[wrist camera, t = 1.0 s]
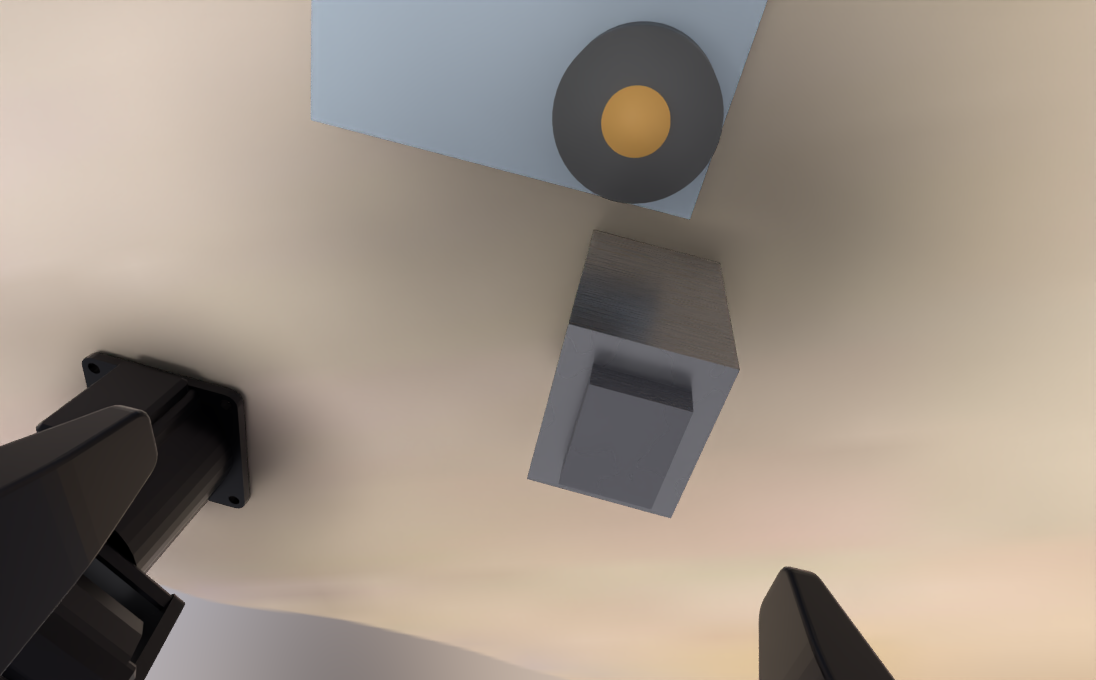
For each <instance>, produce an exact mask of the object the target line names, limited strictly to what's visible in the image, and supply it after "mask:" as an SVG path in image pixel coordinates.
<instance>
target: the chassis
mask: <svg viewBox="0 0 1096 680" xmlns="http://www.w3.org/2000/svg"><path fill="white" fill-rule="evenodd" d="M766 3H767V0H312V16H311V120H313V121H317V122H320V123H324V124H328V125H332V126H336V127H340V128H343V129H347V130H351V131H355V132H359V133H362V134H366V135H370V136H374V137H378V138H381V139H385V140H389V141H393V142H397V143H400V144H404V145H408V146H412V147H416V148H419V149H423V150H427V151H431V152H435V153H438V154H442V155H446V156H450V157H454V158H457V159H461V160H465V161H469V162H473V163H476V164H480V165H484V166H488V167H492V168H495V169H499V170H503V171H507V172H511V173H515V174H518V175H522V176H526V177H530V178H534V179H537V180H541V181H545V182H549V183H553V184H556V185H560V186H564V187H568V188H572V189H575V190H579V191H583V192H587V193H591V194H594V195H598V196H601V197H603V198H606V199H609V200H612V201H616V202H621V203H629V204H632V205H636V206H640V207H644V208H648V209H651V210H655V211H659V212H663V213H667V214H670V215H674V216H678V217H682V218H686V219H689V220H690V218H691V215H692V212H693V209H694V206H695V203H696V201H697V198H698V195H699V192H700V189H701V187H702V184H703V181H704V178H705V175H706V172H707V170H708V167H709V164H710V161H711V158H712V156H713V154H714V152H715V150H716V147H717V145H718V143H719V139H720V136H721V132H722V127H723V125H724V122H725V119H726V116H727V113H728V110H729V108H730V105H731V102H732V99H733V96H734V94H735V91H736V88H737V85H738V82H739V79H740V77H741V74H742V71H743V68H744V65H745V62H746V60H747V57H748V54H749V51H750V48H751V46H752V43H753V40H754V37H755V34H756V31H757V29H758V26H759V23H760V20H761V17H762V15H763V12H764V9H765V6H766Z"/></svg>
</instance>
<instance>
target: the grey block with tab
mask: <svg viewBox="0 0 1096 680" xmlns="http://www.w3.org/2000/svg"><path fill="white" fill-rule="evenodd" d="M739 370H740V369H739V364H738V358H737V353H736V347H735V342H734V336H733V331H732V326H731V320H730V315H729V309H728V304H727V298H726V293H725V287H724V282H723V276H722V271H721V265H720V263H718V262H714V261H710V260H707V259H703V258H699V257H695V256H692V255H688V254H684V253H680V252H676V251H673V250H669V249H665V248H661V247H657V246H654V245H650V244H646V243H642V242H639V241H635V240H631V239H627V238H623V237H620V236H616V235H612V234H608V233H605V232H601V231H597V230H594V231H593V234H592V238H591V242H590V246H589V249H588V253H587V257H586V261H585V264H584V268H583V272H582V275H581V279H580V283H579V287H578V290H577V294H576V298H575V301H574V305H573V309H572V313H571V316H570V320H569V324H568V327H567V331H566V335H565V339H564V342H563V346H562V350H561V353H560V357H559V361H558V365H557V368H556V372H555V376H554V380H553V383H552V387H551V391H550V395H549V398H548V402H547V406H546V410H545V413H544V417H543V421H542V424H541V428H540V432H539V436H538V439H537V443H536V447H535V451H534V454H533V458H532V462H531V466H530V469H529V473H528V477H527V479H529V480H533V481H537V482H540V483H544V484H548V485H551V486H555V487H559V488H562V489H566V490H570V491H573V492H577V493H580V494H584V495H588V496H591V497H595V498H599V499H602V500H606V501H610V502H613V503H617V504H621V505H624V506H628V507H632V508H635V509H639V510H642V511H646V512H650V513H653V514H657V515H661V516H664V517H668V518H671V517H672V515H673V512H674V510H675V508H676V506H677V504H678V502H679V500H680V497H681V495H682V493H683V491H684V489H685V487H686V484H687V482H688V480H689V478H690V476H691V474H692V471H693V469H694V467H695V465H696V463H697V461H698V459H699V456H700V454H701V452H702V450H703V448H704V446H705V443H706V441H707V439H708V437H709V435H710V433H711V431H712V428H713V426H714V424H715V422H716V420H717V418H718V415H719V413H720V411H721V409H722V407H723V405H724V402H725V400H726V398H727V396H728V394H729V392H730V390H731V387H732V385H733V383H734V381H735V379H736V377H737V374H738V372H739Z"/></svg>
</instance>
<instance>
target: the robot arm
mask: <svg viewBox="0 0 1096 680" xmlns="http://www.w3.org/2000/svg"><path fill="white" fill-rule="evenodd" d="M82 367H83V371H84V375H85V380H86V384H87V389H86V390H84V391H83V392H82V393H80V394H79V395H77V396H76V397H75V398H73V399H72V400H71V401H69V402H68V403H67V404H65V405H64V406H63V407H61V408H60V409H59V410H57V411H56V412H54V413H53V414H52V415H50V416H49V417H48V418H46V419H45V420H44V421H42V422H41V423H40V424H38V425H37V427H36V431H37V433H35V434H33V435H30V436H27V437H24V438H22V439H19V440H16V441H13V442H10V443H8V444H5V445H2V446H0V680H144V679H145V678H146V676H147V674H148V672H149V670H150V668H151V666H152V665H153V663H154V661H155V659H156V657H157V655H158V653H159V652H160V650H161V648H162V646H163V644H164V642H165V641H166V639H167V637H168V635H169V633H170V631H171V629H172V628H173V626H174V624H175V622H176V620H177V618H178V617H179V615H180V613H181V611H182V609H183V607H184V605H185V602H183V601H182V600H181V599H180V598H178V597H177V596H176V595H175V594H172V595H170V594H169V593H168V592H167V591H166V590H164V589H163V588H162V587H161V586H160V585H158V584H157V583H156V582H155V581H154V580H152V579H151V578H150V577H149V576H148V575H146V573H147V571H148V570H149V569H150V568H151V567H152V566H153V564H154V563H155V562H156V561H157V560H158V559H159V557H160V556H161V555H162V554H163V553H164V551H165V550H166V549H167V548H168V547H169V546H170V544H171V543H172V542H173V541H174V540H175V539H176V537H177V536H178V535H179V534H180V533H181V531H182V530H183V529H184V528H185V527H186V526H187V524H188V523H189V522H190V521H191V520H192V519H193V517H194V516H195V515H196V514H197V513H198V511H199V510H200V509H201V508H202V507H203V506H204V504H205V503H206V502H207V501H208V500H209V501H212V502H216V503H219V504H223V505H227V506H230V507H234V508H242V507H243V506H244V505H245V504H246V503H247V501H248V500H249V498H250V492H249V477H248V462H247V447H246V432H245V417H244V402H243V399H242V397H241V396H240V394H238V393H237V392H236V391H234V390H232V389H228V388H225V387H221V386H218V385H214V384H210V383H207V382H203V381H199V380H196V379H192V378H188V377H185V376H181V375H178V374H174V373H170V372H167V371H163V370H159V369H156V368H152V367H149V366H145V365H141V364H138V363H134V362H130V361H127V360H123V359H119V358H116V357H112V356H109V355H105V354H101V353H92V354H91V355H89V356H88V357H86V358H85V359H84V360H83V361H82ZM228 401H229V402H230V403H229V402H228ZM759 680H895V679H894V678H893V676H892V675H891V674H890V672H889V671H888V670H887V668H886V667H885V666H884V664H883V663H882V661H881V660H880V659H879V657H878V656H877V655H876V653H875V652H874V651H873V649H872V648H871V647H870V645H869V644H868V643H867V641H866V640H865V638H864V637H863V636H862V634H861V633H860V632H859V630H858V629H857V628H856V626H855V625H854V624H853V622H852V621H851V619H850V618H849V617H848V615H847V614H846V613H845V611H844V610H843V609H842V607H841V606H840V605H839V603H838V602H837V601H836V599H835V598H834V596H833V595H832V594H831V592H830V591H829V590H828V588H827V587H826V586H825V584H824V583H823V582H822V580H821V579H820V578H819V577H818V576H817V575H816V574H815V573H813V572H810V571H806V570H802V569H798V568H793V567H784V568H783V569H781V570H780V572H779V573H778V575H777V577H776V579H775V580H774V582H773V584H772V586H771V587H770V589H769V591H768V593H767V595H766V596H765V598H764V600H763V602H762V604H761V608H760V612H759Z"/></svg>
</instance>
